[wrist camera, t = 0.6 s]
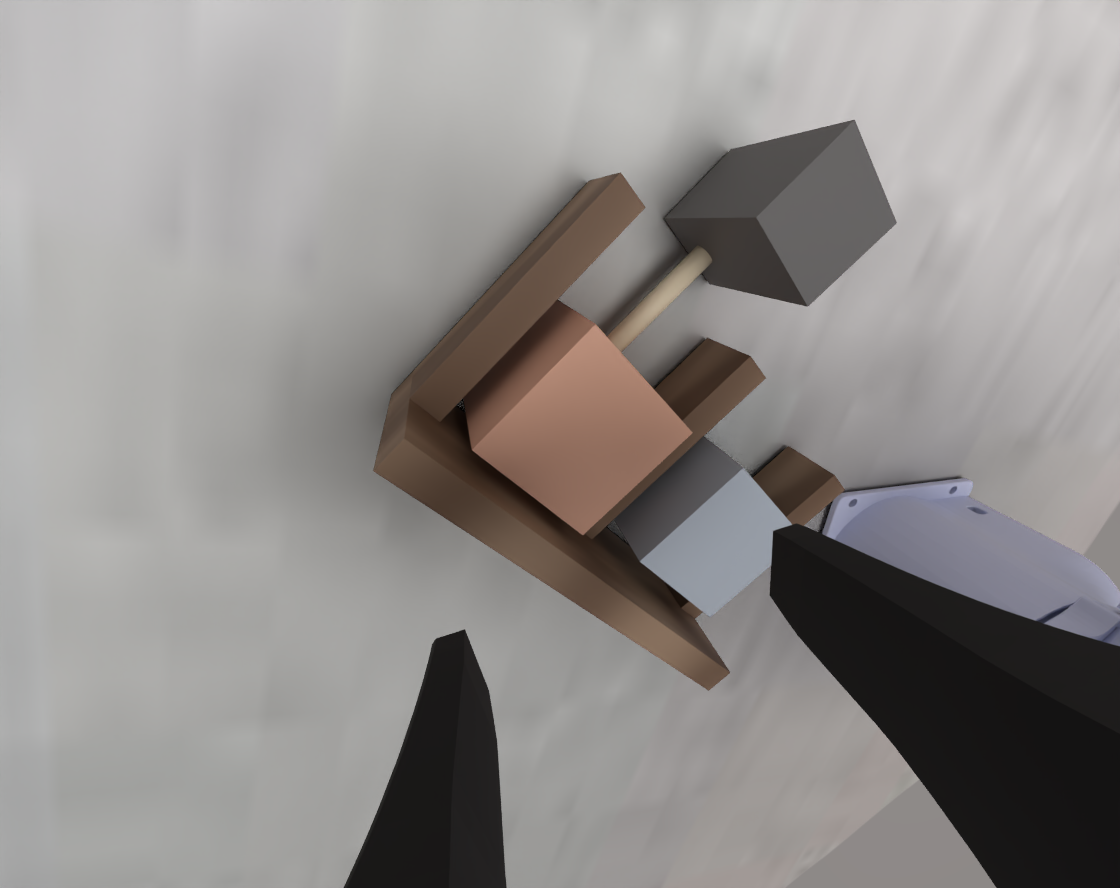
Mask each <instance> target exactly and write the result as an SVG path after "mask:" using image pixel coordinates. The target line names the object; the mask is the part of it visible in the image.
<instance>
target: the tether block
mask: <svg viewBox="0 0 1120 888" xmlns="http://www.w3.org/2000/svg"><path fill="white" fill-rule="evenodd" d="M664 219H665V220H666V222H667V223H668V225H669V226H670V228H671V229H672V230H673V232H674V233H675V235H676V236H677V238H678V239H679V241H680V242H681V243H682V245H683V246H684V248H685V249H686V251H687V252H688V255H687V256H686V257H685V258H684V259H683V260H682V261H681V262H680V263H679V264H678V265H677V266H676V267H675V268H674V269H673V270H672V271H671V272H670V273H669V274H668V275H667V276H666V277H665V278H664V279H663V280H662V281H661V282H660V283H659V284H658V285H657V286H656V287H655V288H654V289H653V290H652V291H651V292H650V293H649V294H648V295H647V296H646V297H645V298H644V299H643V300H642V301H641V302H640V303H639V304H638V306H637V307H636V308H635V309H634V310H633V311H632V312H631V313H630V314H629V315H628V316H627V317H626V318H625V319H624V320H623V321H622V322H621V323H620V324H619V325H618V326H617V327H616V328H615V329H614V330H613V331H612V332H611V333H610V334H609V335H608V336H606V335H605V334H604V333H603V332H602V331H601V330H600V328H599V327H598V326H597V325H596V324H595V323H593V322H592V321H590V320H588V319H587V318H585V317H584V316H582V315H581V314H579V313H577V312H576V311H574V310H573V309H571V308H570V307H568V306H566V305H565V304H563V303H562V302H560V301H559V300H556V301H555V302H554V304H553V305H552V306H551V307H550V308H549V309H548V310H547V311H546V312H545V313H544V314H543V315H542V316H541V317H540V318H539V319H538V320H537V321H536V322H535V323H534V324H533V325H532V326H531V328H530V329H529V330H528V331H527V332H526V333H525V334H524V335H523V336H522V337H521V338H520V339H519V340H518V341H517V342H516V343H515V344H514V345H513V346H512V347H511V348H510V349H509V351H508V352H507V353H506V354H505V355H504V356H503V357H502V358H501V359H500V360H499V361H498V362H497V363H496V364H495V365H494V366H493V367H492V368H491V369H490V370H489V371H488V372H487V373H486V375H485V376H484V377H483V378H482V379H481V380H480V381H479V382H478V383H477V384H476V385H475V386H474V387H473V388H472V389H471V390H470V391H469V392H468V393H467V394H466V395H465V396H464V398H463V400H464V406H465V412H466V418H467V424H468V430H469V436H470V442H471V448H472V451H474V452H475V453H476V454H478V455H479V456H480V457H481V458H483V459H484V460H485V461H487V462H488V463H489V464H491V465H492V466H493V467H494V468H496V469H497V470H498V471H500V472H501V473H502V474H504V475H505V476H506V477H507V478H509V479H510V480H511V481H513V482H514V483H515V484H517V485H518V486H519V487H520V488H522V489H523V490H524V491H526V492H527V493H528V494H530V495H531V496H532V497H534V498H535V499H536V500H537V501H539V502H540V503H541V504H543V505H544V506H545V507H547V508H548V509H549V510H550V511H552V512H553V513H554V514H556V515H557V516H558V517H560V518H561V519H562V520H563V521H565V522H566V523H567V524H569V525H570V526H571V527H573V528H574V529H575V530H576V531H578V532H579V533H580V534H582V535H584V534H585V533H586V532H587V531H588V530H589V529H590V528H591V527H592V526H593V525H594V524H596V523H597V522H598V521H599V520H600V519H601V518H602V517H603V516H604V515H605V514H606V513H607V512H608V511H609V510H611V509H612V508H613V507H614V506H615V505H616V504H617V503H618V502H619V501H620V500H621V499H622V498H623V497H624V496H626V495H627V494H628V493H629V492H630V491H631V490H632V489H633V488H634V487H635V486H636V485H637V484H638V483H640V482H641V481H642V480H643V479H644V478H645V477H646V476H647V475H648V474H649V473H650V472H651V471H652V470H653V469H655V468H656V467H657V466H658V465H659V464H660V463H661V462H662V461H663V460H664V459H665V458H666V457H667V456H668V455H670V454H671V453H672V452H673V451H674V450H675V449H676V448H677V447H678V446H679V445H680V444H681V443H682V442H684V441H685V440H686V439H687V438H688V437H689V436H690V435H691V434H692V433H693V432H692V431H691V430H690V429H689V428H688V427H687V426H686V425H685V423H684V422H683V421H682V420H681V419H680V418H679V417H678V416H677V415H676V413H675V412H674V411H673V410H672V409H671V408H670V407H669V406H668V404H667V403H666V402H665V401H664V400H663V399H662V398H661V397H660V396H659V394H658V393H657V392H656V391H655V390H654V389H653V388H652V387H651V385H650V384H649V383H648V382H647V381H646V380H645V379H644V378H643V377H642V375H641V374H640V373H639V372H638V371H637V370H636V369H635V368H634V366H633V365H632V364H631V363H630V362H629V361H628V360H627V359H626V358H625V356H624V355H623V354H622V353H621V352H622V351H623V350H624V349H625V348H626V347H627V346H628V345H629V344H630V343H631V342H632V341H633V340H634V339H635V338H636V337H637V336H638V335H639V334H640V333H641V332H642V331H643V330H644V329H645V328H647V327H648V326H649V325H650V324H651V323H652V322H653V321H654V320H655V319H656V318H657V317H658V316H659V315H660V314H661V313H662V312H663V311H664V310H665V309H666V308H667V307H668V306H669V305H670V304H671V303H672V302H673V301H674V300H675V299H676V298H677V297H678V296H679V295H680V294H681V293H682V292H683V291H684V290H685V289H686V288H687V287H688V286H689V285H690V284H691V283H692V282H693V281H694V280H695V279H696V278H697V277H698V276H699V275H700V274H701V273H702V274H703V275H704V277H705V278H706V280H707V281H708V282H709V284H712V285H716V286H720V287H725V288H729V289H734V290H738V291H742V292H747V293H751V294H755V295H760V296H764V297H768V298H773V299H777V300H782V301H786V302H790V303H795V304H799V305H803V306H809V305H810V304H811V303H812V302H813V301H814V300H815V299H816V298H818V297H819V296H820V295H821V294H822V293H823V292H824V291H825V290H826V289H827V288H828V287H829V286H830V285H831V284H832V283H834V282H835V281H836V280H837V279H838V278H839V277H840V276H841V275H842V274H843V273H844V272H845V271H846V270H847V269H848V268H849V267H851V266H852V265H853V264H854V263H855V262H856V261H857V260H858V259H859V258H860V257H861V256H862V255H863V254H864V253H865V252H867V251H868V250H869V249H870V248H871V247H872V246H873V245H874V244H875V243H876V242H877V241H878V240H879V239H880V238H881V237H882V236H884V235H885V234H886V233H887V232H888V231H889V230H890V229H891V228H892V227H893V226H894V225H895V224H896V223H897V222H896V220H895V217H894V215H893V213H892V210H891V208H890V205H889V203H888V200H887V198H886V195H885V193H884V190H883V188H882V186H881V183H880V181H879V178H878V176H877V173H876V171H875V168H874V166H873V164H872V161H871V159H870V156H869V154H868V151H867V149H866V146H865V144H864V142H863V139H862V137H861V134H860V132H859V129H858V127H857V124H856V122H855V120H852V121H847V122H843V123H839V124H835V125H831V126H827V127H822V128H818V129H814V130H810V131H806V132H802V133H797V134H793V135H789V136H785V137H781V138H777V139H772V140H768V141H764V142H760V143H756V144H752V145H747V146H743V147H739V148H735V149H731V150H730V151H729V152H728V153H727V154H726V155H725V156H724V157H723V158H722V159H721V160H720V161H719V162H718V163H717V164H716V165H715V166H714V167H713V169H712V170H711V171H710V172H709V173H708V174H707V175H706V176H705V177H704V178H703V179H702V180H701V181H700V182H699V183H698V184H697V185H696V186H695V187H694V188H693V189H692V190H691V191H690V192H689V193H688V194H687V195H686V196H685V197H684V198H683V199H682V200H681V202H680V203H679V204H678V205H677V206H676V207H675V208H674V209H673V210H672V211H671V212H670V213H669V214H668V215H667V216H666V217H665V218H664Z"/></svg>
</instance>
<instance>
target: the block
mask: <svg viewBox="0 0 1120 888" xmlns="http://www.w3.org/2000/svg"><path fill="white" fill-rule="evenodd" d="M614 520H615V522H616V523H617V525H618V527H619V528H620V530H621V532H622V533H623V535H624V537H625V538H626V540H627V541H628V543H629V545H630V546H631V548H632V550H633V551H634V553H635V555H636V556H637V558H638V560H639V561H640V562H641V563H642V564H643V565H645V566H646V567H647V568H648V569H650V570H651V571H652V572H653V573H655V574H656V575H657V576H659V577H660V578H661V579H662V580H664V581H665V582H666V583H667V584H669V585H670V586H671V587H672V588H674V589H675V590H676V591H677V592H679V593H680V594H681V595H682V596H684V597H685V598H686V599H687V600H689V601H690V602H691V603H692V604H694V605H695V606H696V607H697V608H699V609H700V610H701V611H703V612H704V613H705V614H706V615H708V616H709V617H711V616H712V615H714V614H715V613H716V612H717V611H718V610H719V609H721V608H722V607H723V606H724V605H725V604H726V603H728V602H729V601H730V600H731V599H732V598H733V597H735V596H736V595H737V594H738V593H739V592H740V591H742V590H743V589H744V588H745V587H746V586H747V585H749V584H750V583H751V582H752V581H753V580H754V579H756V578H757V577H758V576H759V575H760V574H761V573H763V572H764V571H765V570H766V569H767V568H768V567H770V566H771V561H772V541H773V531H774V530H777V529H780V528H783V527H786V526H789V525H792V524H791V522H790V521H789V520H788V519H787V518H786V517H785V515H784V514H783V513H782V512H781V511H780V510H779V508H778V507H777V506H776V505H775V504H774V503H773V502H772V500H771V499H770V498H769V497H768V496H767V495H766V493H765V492H764V491H763V490H762V489H761V488H760V486H759V485H758V484H757V483H756V482H755V481H754V479H753V478H752V477H751V476H750V475H749V474H748V472H747V471H746V470H745V469H744V468H743V467H742V466H741V465H739V464H738V463H737V462H736V461H734V460H733V459H732V458H730V457H729V456H728V455H727V454H725V453H724V452H723V451H722V450H720V449H719V448H718V447H717V446H715V445H714V444H713V443H712V442H710V441H709V440H708V439H707V438H705V437H704V436H703V437H702V438H701V439H700V440H699V441H698V442H697V443H695V444H694V445H693V446H692V447H691V448H690V449H689V450H688V451H687V452H686V453H685V454H684V455H683V456H681V457H680V458H679V459H678V460H677V461H676V462H675V463H674V464H673V465H672V466H671V467H670V468H669V469H667V470H666V471H665V472H664V473H663V474H662V475H661V476H660V477H659V478H658V479H657V480H656V481H655V482H653V483H652V484H651V485H650V486H649V487H648V488H647V489H646V490H645V491H644V492H643V493H642V494H641V495H639V496H638V497H637V498H636V499H635V500H634V501H633V502H632V503H631V504H630V505H629V506H628V507H627V508H625V509H624V510H623V511H622V512H621V513H620V514H619V515H618V516H617V517H616V518H615V519H614Z"/></svg>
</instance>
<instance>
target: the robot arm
mask: <svg viewBox="0 0 1120 888" xmlns="http://www.w3.org/2000/svg"><path fill="white" fill-rule="evenodd" d="M972 488H973V482H972V481H971V480H969V479H967V478H961V479H953V480H944V481H936V482H928V483H920V484H911V485H903V486H895V487H887V488H879V489H870V490H862V491H854V492H846V493H841V494H840V495H839V496H837V497H836V498H835V499H834V500H833V502H832V505H831V508H830V511H829V514H828V517H827V520H826V523H825V526H824V529H823V532H822V534H821V533H819V532H816V531H814V530H812V529H809V528H807V527H805V526H802V525H800V524H797V523H796V524H793V525H789V526H786V527H783V528H780V529H777V530H774V531H773V541H772V561H771V581H770V596H771V598H772V599H773V601H774V602H775V604H776V605H777V606H778V608H779V609H780V611H781V612H782V614H783V615H784V617H785V618H786V620H787V621H788V622H789V624H790V625H791V627H792V628H793V629H794V631H795V632H796V634H797V635H798V636H799V637H800V638H801V640H802V641H803V642H804V643H805V644H806V645H807V647H808V648H809V649H810V650H811V651H812V652H813V653H814V655H815V656H816V657H817V658H818V659H819V660H820V661H821V663H822V664H823V665H824V666H825V667H826V668H827V669H828V671H829V672H830V673H831V674H832V675H833V676H834V677H835V678H836V680H837V681H838V682H839V683H840V684H841V685H842V686H843V687H844V689H845V690H846V691H847V692H848V693H849V694H850V695H851V696H852V698H853V699H854V700H855V701H856V702H857V703H858V704H859V705H860V707H861V708H862V709H863V710H864V711H865V712H866V713H867V714H868V716H869V717H870V718H871V719H872V720H873V721H874V722H875V723H876V725H877V726H878V727H879V728H880V729H881V731H882V732H883V733H884V734H885V735H886V737H887V738H888V739H889V740H890V741H891V743H892V744H893V745H894V746H895V747H896V749H897V750H898V751H899V753H900V754H901V755H902V757H903V758H904V759H905V761H906V762H907V763H908V765H909V766H910V767H911V769H912V770H913V771H914V773H915V774H916V775H917V777H918V778H919V779H920V781H921V782H922V783H923V785H924V786H925V787H926V789H927V790H928V791H929V793H930V794H931V795H932V797H933V798H934V799H935V801H936V802H937V804H938V805H939V806H940V808H941V809H942V811H943V812H944V813H945V815H946V816H947V817H948V819H949V820H950V822H951V823H952V824H953V826H954V827H955V829H956V830H957V831H958V833H959V834H960V836H961V837H962V838H963V840H964V841H965V842H966V844H967V845H968V847H969V848H970V850H971V851H972V852H973V854H974V855H975V857H976V858H977V859H978V861H979V862H980V864H981V865H982V867H983V868H984V870H985V871H986V873H987V874H988V876H989V877H990V879H991V880H992V882H993V883H994V885H995V886H996V887H997V888H1120V592H1119V590H1118V588H1117V587H1116V586H1115V584H1114V583H1113V582H1112V580H1111V579H1110V578H1109V577H1108V576H1107V574H1106V573H1104V572H1103V571H1102V570H1101V569H1100V568H1099V567H1098V566H1097V565H1096V564H1094V563H1093V562H1092V561H1091V560H1089V559H1088V558H1086V557H1085V556H1083V555H1081V554H1080V553H1078V552H1076V551H1074V550H1072V549H1070V548H1068V547H1066V546H1064V545H1062V544H1060V543H1058V542H1056V541H1055V540H1053V539H1051V538H1049V537H1047V536H1045V535H1043V534H1041V533H1039V532H1037V531H1035V530H1033V529H1031V528H1029V527H1027V526H1025V525H1023V524H1021V523H1019V522H1018V521H1016V520H1014V519H1012V518H1010V517H1008V516H1006V515H1004V514H1002V513H1000V512H998V511H996V510H994V509H992V508H990V507H988V506H986V505H984V504H982V503H981V502H979V501H977V500H975V499H973V498H971V497H969V494H970V492H971V490H972ZM344 888H506V877H505V863H504V846H503V830H502V813H501V796H500V780H499V764H498V749H497V738H496V732H495V725H494V719H493V713H492V707H491V701H490V695H489V690H488V687H487V685H486V682H485V680H484V677H483V675H482V672H481V669H480V667H479V664H478V662H477V659H476V657H475V654H474V652H473V649H472V646H471V644H470V641H469V639H468V636H467V634H466V631H465V630H462V631H459V632H456V633H452V634H449V635H446V636H443V637H440V638H437V639H436V640H435V641H434V643H433V644H432V648H431V652H430V656H429V660H428V664H427V668H426V672H425V675H424V679H423V683H422V686H421V689H420V693H419V696H418V699H417V703H416V706H415V709H414V712H413V715H412V718H411V721H410V724H409V727H408V730H407V733H406V736H405V739H404V742H403V745H402V748H401V751H400V753H399V756H398V759H397V762H396V764H395V767H394V770H393V772H392V775H391V777H390V780H389V782H388V785H387V788H386V790H385V793H384V795H383V798H382V801H381V803H380V806H379V808H378V811H377V813H376V816H375V818H374V820H373V823H372V825H371V828H370V830H369V832H368V835H367V837H366V839H365V842H364V844H363V846H362V849H361V851H360V853H359V855H358V858H357V860H356V862H355V864H354V866H353V869H352V871H351V873H350V875H349V877H348V879H347V882H346V884H345V886H344Z"/></svg>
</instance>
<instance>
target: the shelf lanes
mask: <svg viewBox="0 0 1120 888" xmlns="http://www.w3.org/2000/svg"><path fill="white" fill-rule="evenodd" d="M644 208H645V206H644V205H643V203H642V202H641V201H640V199H639V198H638V196H637V195H636V193H635V192H634V191H633V189H632V188H631V186H630V185H629V184H628V182H627V181H626V179H625V178H624V176H623V175H622V174H621V173H617V174H613V175H609V176H605V177H602V178H598V179H594V180H590V181H589V182H588V183H587V184H586V185H585V186H584V187H583V188H582V189H581V190H580V191H579V192H578V193H577V194H576V196H575V197H574V198H573V199H572V200H571V201H570V202H569V203H568V204H567V205H566V206H565V207H564V209H563V210H562V211H561V212H560V213H559V214H558V215H557V216H556V217H555V218H554V219H553V220H552V221H551V223H550V224H549V225H548V226H547V227H546V228H545V229H544V230H543V231H542V232H541V233H540V234H539V236H538V237H537V238H536V239H535V240H534V241H533V242H532V243H531V244H530V245H529V246H528V247H527V248H526V250H525V251H524V252H523V253H522V254H521V255H520V256H519V257H518V258H517V259H516V260H515V261H514V263H513V264H512V265H511V266H510V267H509V268H508V269H507V270H506V271H505V272H504V273H503V274H502V276H501V277H500V278H499V279H498V280H497V281H496V282H495V283H494V284H493V285H492V286H491V287H490V288H489V290H488V291H487V292H486V293H485V294H484V295H483V296H482V297H481V298H480V299H479V300H478V301H477V303H476V304H475V305H474V306H473V307H472V308H471V309H470V310H469V311H468V312H467V313H466V314H465V315H464V317H463V318H462V319H461V320H460V321H459V322H458V323H457V324H456V325H455V326H454V327H453V328H452V330H451V331H450V332H449V333H448V334H447V335H446V336H445V337H444V338H443V339H442V340H441V341H440V342H439V344H438V345H437V346H436V347H435V348H434V349H433V350H432V351H431V352H430V353H429V354H428V355H427V357H426V358H425V359H424V360H423V361H422V362H421V363H420V364H419V365H418V366H417V367H416V368H415V369H414V371H413V372H412V373H411V374H410V375H409V376H408V377H407V378H406V379H405V380H404V381H403V382H402V384H401V385H400V386H399V387H398V388H397V389H396V390H395V391H394V392H393V393H392V394H391V399H390V403H389V407H388V411H387V415H386V420H385V424H384V428H383V432H382V436H381V441H380V445H379V449H378V453H377V457H376V461H375V466H374V470H373V471H374V472H376V473H377V474H379V475H380V476H382V477H383V478H385V479H386V480H388V481H389V482H391V483H392V484H394V485H395V486H397V487H399V488H400V489H402V490H403V491H405V492H406V493H408V494H409V495H411V496H412V497H414V498H415V499H417V500H418V501H420V502H421V503H423V504H425V505H426V506H428V507H429V508H431V509H432V510H434V511H435V512H437V513H438V514H440V515H441V516H443V517H444V518H446V519H447V520H449V521H450V522H452V523H454V524H455V525H457V526H458V527H460V528H461V529H463V530H464V531H466V532H467V533H469V534H470V535H472V536H473V537H475V538H476V539H478V540H480V541H481V542H483V543H484V544H486V545H487V546H489V547H490V548H492V549H493V550H495V551H496V552H498V553H499V554H501V555H502V556H504V557H505V558H507V559H509V560H510V561H512V562H513V563H515V564H516V565H518V566H519V567H521V568H522V569H524V570H525V571H527V572H528V573H530V574H531V575H533V576H535V577H536V578H538V579H539V580H541V581H542V582H544V583H545V584H547V585H548V586H550V587H551V588H553V589H554V590H556V591H557V592H559V593H561V594H562V595H564V596H565V597H567V598H568V599H570V600H571V601H573V602H574V603H576V604H577V605H579V606H580V607H582V608H583V609H585V610H586V611H588V612H590V613H591V614H593V615H594V616H596V617H597V618H599V619H600V620H602V621H603V622H605V623H606V624H608V625H609V626H611V627H612V628H614V629H616V630H617V631H619V632H620V633H622V634H623V635H625V636H626V637H628V638H629V639H631V640H632V641H634V642H635V643H637V644H638V645H640V646H641V647H643V648H645V649H646V650H648V651H649V652H651V653H652V654H654V655H655V656H657V657H658V658H660V659H661V660H663V661H664V662H666V663H667V664H669V665H671V666H672V667H674V668H675V669H677V670H678V671H680V672H681V673H683V674H684V675H686V676H687V677H689V678H690V679H692V680H693V681H695V682H696V683H698V684H700V685H701V686H703V687H704V688H706V689H707V690H710V689H711V688H712V687H714V686H715V685H716V684H717V683H718V682H720V681H721V680H722V679H723V678H724V677H726V676H727V675H728V674H729V673H730V672H729V670H728V669H727V667H726V665H725V664H724V662H723V661H722V659H721V658H720V656H719V655H718V653H717V652H716V650H715V649H714V647H713V646H712V644H711V643H710V641H709V640H708V638H707V637H706V635H705V634H704V632H703V631H702V629H701V628H700V626H699V624H698V623H697V621H696V620H695V618H696V617H698V616H699V615H700V614H701V613H702V612H703V611H701V610H700V609H699V608H697V607H696V606H695V605H694V604H692V603H691V602H690V601H689V600H687V599H686V598H685V597H684V596H682V595H681V594H680V593H679V592H677V591H676V590H675V589H674V588H672V587H671V586H670V585H669V584H667V583H666V582H665V581H664V580H662V579H661V578H660V577H659V576H657V575H656V574H655V573H653V572H652V571H651V570H650V569H648V568H647V567H646V566H645V565H643V564H642V563H641V562H640V561H639V560H638V558H637V556H636V555H635V553H634V551H633V550H632V548H631V547H630V546H629V545H627V544H626V543H625V542H624V541H622V540H621V539H620V538H619V537H617V536H616V535H615V534H614V533H613V532H611V531H610V530H609V529H608V528H606V526H607V525H608V524H609V523H610V522H611V521H613V520H614V519H615V518H616V517H617V516H618V515H619V514H620V513H621V512H622V511H623V510H624V509H625V508H627V507H628V506H629V505H630V504H631V503H632V502H633V501H634V500H635V499H636V498H637V497H638V496H639V495H641V494H642V493H643V492H644V491H645V490H646V489H647V488H648V487H649V486H650V485H651V484H652V483H653V482H655V481H656V480H657V479H658V478H659V477H660V476H661V475H662V474H663V473H664V472H665V471H666V470H667V469H669V468H670V467H671V466H672V465H673V464H674V463H675V462H676V461H677V460H678V459H679V458H680V457H681V456H683V455H684V454H685V453H686V452H687V451H688V450H689V449H690V448H691V447H692V446H693V445H694V444H695V443H697V442H698V441H699V440H700V439H701V438H702V437H703V436H704V435H705V434H706V433H707V432H708V431H710V430H711V429H712V428H713V427H714V426H715V425H716V424H717V423H718V422H719V421H720V420H721V419H722V418H724V417H725V416H726V415H727V414H728V413H729V412H730V411H731V410H732V409H733V408H734V407H735V406H736V405H738V404H739V403H740V402H741V401H742V400H743V399H744V398H745V397H746V396H747V395H748V394H749V393H750V392H752V391H753V390H754V389H755V388H756V387H757V386H758V385H759V384H760V383H761V382H762V381H763V380H764V379H766V377H765V376H764V375H763V373H762V372H761V370H760V369H759V368H758V366H757V365H756V363H755V362H754V360H753V359H752V358H751V356H749V355H746V354H744V353H742V352H739V351H737V350H735V349H732V348H730V347H727V346H725V345H723V344H720V343H718V342H716V341H713V340H711V339H709V338H707V339H706V340H705V341H704V342H703V343H701V344H700V345H699V346H698V347H697V348H696V349H695V350H694V351H693V352H692V353H691V354H690V355H689V356H688V357H687V358H686V359H685V360H684V361H683V362H682V363H681V364H680V365H679V366H678V367H677V368H676V369H675V370H674V371H672V372H671V373H670V374H669V375H668V376H667V377H666V378H665V379H664V380H663V381H662V382H661V383H660V384H659V385H658V386H657V387H656V388H655V389H654V390H655V391H656V392H657V393H658V394H659V396H660V397H661V398H662V399H663V400H664V401H665V402H666V403H667V404H668V406H669V407H670V408H671V409H672V410H673V411H674V412H675V413H676V415H677V416H678V417H679V418H680V419H681V420H682V421H683V422H684V423H685V425H686V426H687V427H688V428H689V429H690V430H691V431H692V432H693V433H692V434H691V435H690V436H689V437H688V438H687V439H686V440H685V441H684V442H682V443H681V444H680V445H679V446H678V447H677V448H676V449H675V450H674V451H673V452H672V453H671V454H670V455H668V456H667V457H666V458H665V459H664V460H663V461H662V462H661V463H660V464H659V465H658V466H657V467H656V468H655V469H653V470H652V471H651V472H650V473H649V474H648V475H647V476H646V477H645V478H644V479H643V480H642V481H641V482H640V483H638V484H637V485H636V486H635V487H634V488H633V489H632V490H631V491H630V492H629V493H628V494H627V495H626V496H624V497H623V498H622V499H621V500H620V501H619V502H618V503H617V504H616V505H615V506H614V507H613V508H612V509H611V510H609V511H608V512H607V513H606V514H605V515H604V516H603V517H602V518H601V519H600V520H599V521H598V522H597V523H596V524H594V525H593V526H592V527H591V528H590V529H589V530H588V531H587V532H586V533H585V534H584V535H582V534H580V533H579V532H578V531H576V530H575V529H574V528H573V527H571V526H570V525H569V524H567V523H566V522H565V521H563V520H562V519H561V518H560V517H558V516H557V515H556V514H554V513H553V512H552V511H550V510H549V509H548V508H547V507H545V506H544V505H543V504H541V503H540V502H539V501H537V500H536V499H535V498H534V497H532V496H531V495H530V494H528V493H527V492H526V491H524V490H523V489H522V488H520V487H519V486H518V485H517V484H515V483H514V482H513V481H511V480H510V479H509V478H507V477H506V476H505V475H504V474H502V473H501V472H500V471H498V470H497V469H496V468H494V467H493V466H492V465H491V464H489V463H488V462H487V461H485V460H484V459H483V458H481V457H480V456H479V455H478V454H476V453H475V452H474V451H472V448H471V442H470V436H469V430H468V424H467V418H466V413H464V412H463V411H462V410H461V409H459V408H458V407H457V406H456V405H457V404H458V403H459V402H460V401H461V400H462V399H463V398H464V396H465V395H466V394H467V393H468V392H469V391H470V390H471V389H472V388H473V387H474V386H475V385H476V384H477V383H478V382H479V381H480V380H481V379H482V378H483V377H484V376H485V375H486V373H487V372H488V371H489V370H490V369H491V368H492V367H493V366H494V365H495V364H496V363H497V362H498V361H499V360H500V359H501V358H502V357H503V356H504V355H505V354H506V353H507V352H508V351H509V349H510V348H511V347H512V346H513V345H514V344H515V343H516V342H517V341H518V340H519V339H520V338H521V337H522V336H523V335H524V334H525V333H526V332H527V331H528V330H529V329H530V328H531V326H532V325H533V324H534V323H535V322H536V321H537V320H538V319H539V318H540V317H541V316H542V315H543V314H544V313H545V312H546V311H547V310H548V309H549V308H550V307H551V306H552V305H553V304H554V302H555V301H556V300H557V299H558V298H559V297H560V296H561V295H562V294H563V293H564V292H565V291H566V290H567V289H568V288H569V287H570V286H571V285H572V284H573V283H574V282H575V281H576V280H577V278H578V277H579V276H580V275H581V274H582V273H583V272H584V271H585V270H586V269H587V268H588V267H589V266H590V265H591V264H592V263H593V262H594V261H595V260H596V259H597V258H598V257H599V255H600V254H601V253H602V252H603V251H604V250H605V249H606V248H607V247H608V246H609V245H610V244H611V243H612V242H613V241H614V240H615V239H616V238H617V237H618V236H619V235H620V234H621V233H622V231H623V230H624V229H625V228H626V227H627V226H628V225H629V224H630V223H631V222H632V221H633V220H634V219H635V218H636V217H637V216H638V215H639V214H640V213H641V212H642V211H643V210H644ZM753 479H754V481H755V482H756V483H757V484H758V485H759V486H760V488H761V489H762V490H763V491H764V492H765V493H766V495H767V496H768V497H769V498H770V499H771V500H772V502H773V503H774V504H775V505H776V506H777V507H778V508H779V510H780V511H781V512H782V513H783V514H784V515H785V517H786V518H787V519H788V520H789V521H790V522H791V524H792V525H793V524H796V523H797V524H800V525H802V526H804V525H805V524H806V523H807V522H808V521H809V520H811V519H812V518H813V517H814V516H815V515H816V514H818V513H819V512H820V511H821V510H822V509H823V508H825V507H826V506H827V505H828V504H829V503H830V502H832V501H833V500H834V499H835V498H836V497H837V496H839V495H840V494H841V493H842V492H843V491H844V490H845V489H844V488H843V486H842V485H841V484H840V482H839V481H838V479H837V478H836V477H835V475H833V474H832V473H830V472H829V471H827V470H826V469H824V468H822V467H821V466H819V465H818V464H816V463H814V462H813V461H811V460H810V459H808V458H807V457H805V456H803V455H802V454H800V453H799V452H797V451H796V450H794V449H792V448H791V447H789V446H788V447H787V448H786V449H784V450H783V451H782V452H781V453H780V454H779V455H778V456H777V457H775V458H774V459H773V460H772V461H771V462H770V463H769V464H768V465H766V466H765V467H764V468H763V469H762V470H761V471H760V472H759V473H758V474H756V475H755V476H754V477H753Z"/></svg>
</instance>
